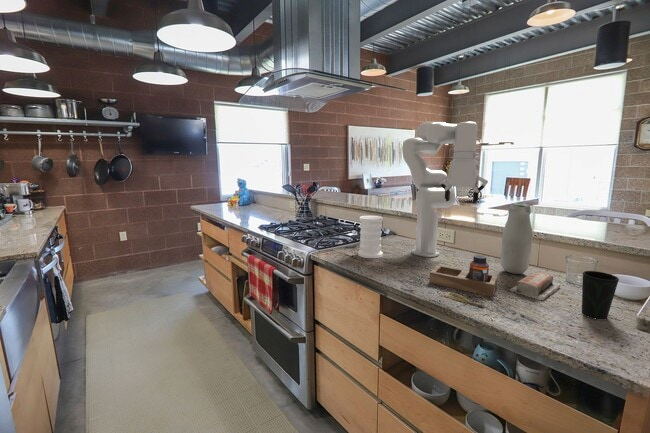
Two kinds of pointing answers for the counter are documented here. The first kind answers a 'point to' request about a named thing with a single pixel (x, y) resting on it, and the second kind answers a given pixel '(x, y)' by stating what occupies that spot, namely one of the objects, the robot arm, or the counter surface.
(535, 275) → the packaged product
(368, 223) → the decorative container
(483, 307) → the tongs
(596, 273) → the cup
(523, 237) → the glass bottle
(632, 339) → the counter surface
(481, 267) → the supplement bottle
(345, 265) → the counter surface
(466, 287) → the rack
